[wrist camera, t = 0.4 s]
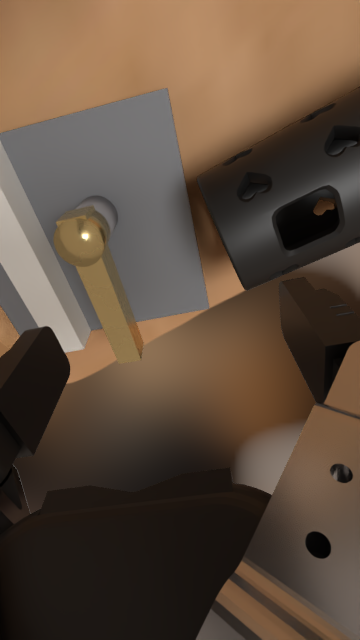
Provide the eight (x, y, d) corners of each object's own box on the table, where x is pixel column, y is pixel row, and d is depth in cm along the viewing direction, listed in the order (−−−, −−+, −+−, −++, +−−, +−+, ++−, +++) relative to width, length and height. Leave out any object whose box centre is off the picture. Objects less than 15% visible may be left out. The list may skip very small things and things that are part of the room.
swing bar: (58, 213, 22) (44, 225, 19) (101, 203, 21) (92, 215, 19) (116, 347, 29) (111, 368, 27) (149, 341, 28) (147, 362, 26)
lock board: (-77, 155, 24) (-162, 172, 18) (167, 89, 22) (164, 83, 16) (31, 331, 35) (0, 380, 28) (207, 298, 32) (215, 343, 26)
